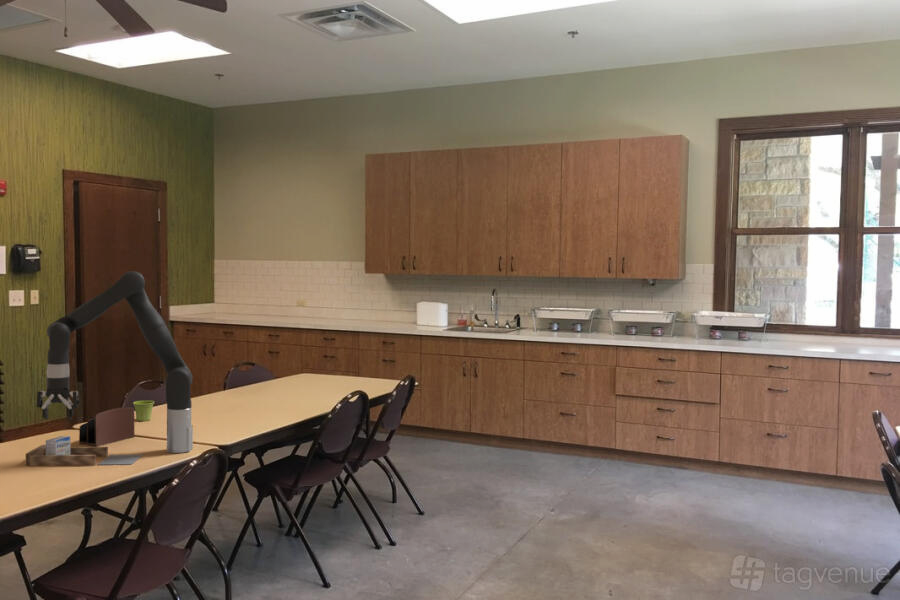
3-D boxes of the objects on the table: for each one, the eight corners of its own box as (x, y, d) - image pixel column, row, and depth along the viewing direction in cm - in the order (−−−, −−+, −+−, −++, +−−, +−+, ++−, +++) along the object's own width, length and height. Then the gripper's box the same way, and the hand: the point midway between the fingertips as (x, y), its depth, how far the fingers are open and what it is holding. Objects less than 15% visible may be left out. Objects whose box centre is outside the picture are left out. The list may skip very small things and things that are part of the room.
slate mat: (142, 455, 287) (142, 454, 287) (131, 464, 273) (131, 463, 273) (110, 455, 286) (110, 454, 286) (97, 465, 272) (97, 464, 272)
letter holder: (135, 437, 317) (135, 405, 317) (95, 447, 299) (95, 412, 299) (118, 435, 321) (118, 403, 321) (78, 444, 303) (78, 410, 303)
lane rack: (107, 455, 286) (107, 444, 285) (94, 465, 272) (94, 453, 271) (42, 456, 283) (42, 444, 283) (25, 465, 269) (25, 453, 269)
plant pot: (150, 417, 359) (150, 399, 359) (157, 420, 352) (157, 402, 351) (130, 419, 353) (130, 401, 353) (136, 423, 346) (136, 404, 345)
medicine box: (55, 464, 272) (55, 440, 272) (45, 463, 273) (45, 440, 273) (70, 458, 280) (70, 436, 280) (60, 457, 281) (60, 435, 281)
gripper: (82, 374, 280) (81, 416, 281) (42, 374, 279) (42, 416, 279) (74, 377, 273) (74, 420, 273) (33, 376, 271) (33, 420, 272)
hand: (57, 418), depth 276 cm, fingers open, 8 cm apart
